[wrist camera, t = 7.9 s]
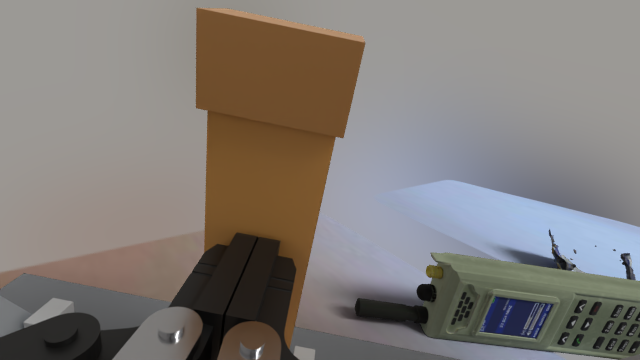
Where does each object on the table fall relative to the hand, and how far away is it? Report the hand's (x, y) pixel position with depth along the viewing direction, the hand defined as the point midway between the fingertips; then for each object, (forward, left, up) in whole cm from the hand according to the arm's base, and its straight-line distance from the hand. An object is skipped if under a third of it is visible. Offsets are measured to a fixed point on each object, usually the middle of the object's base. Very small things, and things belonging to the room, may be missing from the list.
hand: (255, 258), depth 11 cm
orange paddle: (0, -2, -8) cm, 9 cm away
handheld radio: (-19, -13, -12) cm, 26 cm away
